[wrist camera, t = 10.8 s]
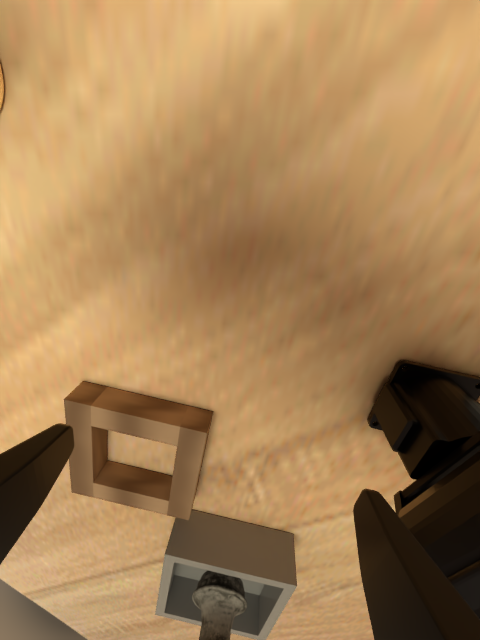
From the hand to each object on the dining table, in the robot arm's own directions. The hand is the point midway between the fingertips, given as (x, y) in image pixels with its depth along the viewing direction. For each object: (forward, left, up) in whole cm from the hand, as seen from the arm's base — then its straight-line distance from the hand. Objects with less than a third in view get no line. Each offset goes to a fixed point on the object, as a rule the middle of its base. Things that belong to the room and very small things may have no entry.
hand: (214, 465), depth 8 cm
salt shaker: (-4, +31, -12) cm, 34 cm away
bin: (-4, +31, -13) cm, 34 cm away
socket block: (+7, +16, -13) cm, 22 cm away
